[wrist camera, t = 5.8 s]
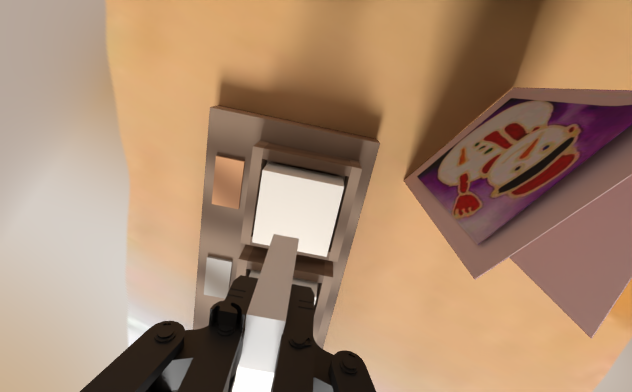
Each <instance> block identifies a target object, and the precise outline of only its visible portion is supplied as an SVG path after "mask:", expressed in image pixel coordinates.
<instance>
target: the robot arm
mask: <svg viewBox="0 0 632 392" xmlns="http://www.w3.org/2000/svg"><path fill="white" fill-rule="evenodd" d="M298 243H299V239H298V238H293V237H287V236H282V235H277V234H273V237H272V240H271V243H270V246H269V249H268V252H267V255H266V258H265V261H264V264H263V267H262V270H261V273H260V276H259V278H253V277H248V276H242V275H240V276H239V277H238V278H236V279H235V280H234V281H233V283H232V285H231V287H230V290H229V291H228V294H227V296H226V298H225V300H223V301H219V302H217V303H216V304H214V305H213V306H212V307H211V308H210V316H209V325H208V326H206V327H204V328H201V329H195V330H185V329H184V327H183V325H181V324H180V323H178V322H174V321H163V322H160V323H157V324H155V325H154V326H152V327H151V328H149V329H148V330H147V331H146V332H145V333H144V334H143V335H142V336H141V337H140V338H138V339H137V340H136V341H135V342H134V343H133V344H132V345H131V346H130V347H128V348H127V349H126V350H125V351H124V352H123V353H122V354H121V355H120V356H119V357H117V358H116V359H115V360H114V361H113V362H112V363H111V364H110V365H109V366H108V367H106V368H105V369H104V370H103V371H102V372H101V373H100V374H99V375H98V376H96V377H95V378H94V379H93V380H92V381H91V382H90V383H89V384H88V385H87V386H86V387H84V388H83V389H82V390H81V391H80V392H232V389H233V386H234V383H235V378H236V372H237V368H238V367H240V368H245V369H251V370H257V371H263V372H269V373H274V377H273V382H272V387H271V391H270V392H376V390H375V388H374V385H373V383H372V380H371V378H370V375H369V373H368V370H367V368H366V365H365V363H364V362H363V360H362V359H361V358H360V357H359V356H358V355H357V354H355V353H353V352H351V351H339V352H337V353H336V354H335V355H333V354H331V353H328V352H326V351H325V350H323V349H322V348H320V347H319V346H318V345H317V343H316V342H315V340H314V337H313V324H314V301H315V294H314V292H313V290H312V288H311V287H306V286H301V285H295V284H292V280H293V273H294V267H295V261H296V255H297V249H298ZM238 365H239V366H238Z"/></svg>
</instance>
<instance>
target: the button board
mask: <svg viewBox="0 0 632 392" xmlns="http://www.w3.org/2000/svg"><path fill="white" fill-rule="evenodd" d="M379 145H380V143H379V141H378V140H377V139H374V138H369V137H364V136H359V135H355V134H350V133H345V132H341V131H336V130H331V129H326V128H322V127H317V126H312V125H308V124H303V123H298V122H294V121H289V120H284V119H279V118H275V117H270V116H265V115H261V114H256V113H251V112H246V111H242V110H237V109H232V108H228V107H223V106H214V107H210V114H209V127H208V140H207V153H206V166H205V179H204V192H203V205H202V218H201V232H200V245H199V258H198V271H197V284H196V297H195V310H194V323H193V330H195V329H201V328H204V327H206V326H208V325H209V316H210V308H211V307H212V306H213V305H214V304H216V303H217V302H219V301H223V300H225V298H226V296H227V294H228V291H229V290H230V287H231V285H232V283H233V281H234V280H235V279H236V278H238V277H239V276H240V275H242V276H248V277H249V275H250V273H251V270H256V271H261V270H262V267H263V264H264V261H265V258H266V255H267V252H268V249H269V246H268V245H263V244H258V243H253V242H252V239H253V232H254V225H255V218H256V211H257V205H258V198H259V191H260V184H261V177H262V170H263V169H264V167H265V166H266V165H267V163H268V162H271V163H276V164H281V165H286V166H291V167H296V168H300V169H305V170H310V171H315V172H320V173H325V174H329V175H334V176H339V177H343V182H344V190H343V194H342V198H341V202H340V206H339V210H338V214H337V218H336V222H335V226H334V230H333V234H332V238H331V242H330V246H329V250H328V254H327V257H324V256H319V255H314V254H309V253H304V252H299V251H297V255H296V261H295V267H294V273H293V278H298V279H303V280H308V281H313V282H317V297H316V301H315V305H314V324H313V337H314V340H315V342H316V343H317V345H318V346H319V347H320V348H322V349H323V346H324V342H325V338H326V335H327V331H328V328H329V324H330V321H331V317H332V313H333V310H334V306H335V303H336V299H337V296H338V292H339V288H340V285H341V281H342V278H343V274H344V271H345V267H346V263H347V260H348V256H349V253H350V249H351V245H352V242H353V238H354V235H355V231H356V228H357V224H358V220H359V217H360V213H361V210H362V206H363V203H364V199H365V195H366V192H367V188H368V185H369V181H370V178H371V174H372V170H373V167H374V163H375V160H376V156H377V153H378V149H379ZM232 390H233V389H232Z"/></svg>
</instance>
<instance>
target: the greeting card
mask: <svg viewBox="0 0 632 392" xmlns="http://www.w3.org/2000/svg"><path fill="white" fill-rule="evenodd" d="M404 182H405V183H406V185H407V186H408V187H409V189H410V190H411V192H412V193H413V194H414V196H415V197H416V199H417V200H418V201H419V203H420V204H421V206H422V207H423V208H424V210H425V211H426V212H427V214H428V215H429V217H430V218H431V219H432V221H433V222H434V224H435V225H436V226H437V228H438V229H439V231H440V232H441V233H442V235H443V236H444V237H445V239H446V240H447V242H448V243H449V244H450V246H451V247H452V249H453V250H454V251H455V253H456V254H457V256H458V257H459V258H460V260H461V261H462V263H463V264H464V265H465V267H466V268H467V269H468V271H469V272H470V274H471V275H472V276H473V278H474V279H475V280H476V279H477V278H479V277H480V276H481V275H483V274H484V273H486V272H487V271H489V270H490V269H492V268H493V267H495V266H496V265H498V264H499V263H501V262H502V261H504V260H505V259H507V258H508V257H509V258H510V259H511V260H512V261H513V262H514V263H516V264H517V265H518V266H519V267H520V268H521V269H522V270H523V271H524V272H525V273H526V274H527V275H528V276H529V277H530V278H531V279H532V280H533V281H534V282H535V283H536V284H537V285H538V286H539V287H540V288H541V289H542V290H543V291H544V292H545V293H546V294H547V295H548V296H549V297H550V298H551V299H552V300H553V301H554V302H555V303H556V304H557V305H558V306H559V307H560V308H561V309H562V310H563V311H564V312H565V313H566V314H567V315H568V316H569V317H570V318H571V319H572V320H573V321H574V322H575V323H576V324H577V325H578V326H579V327H580V328H581V329H582V330H583V331H584V332H585V333H586V334H587V335H588V336H589V337H590V338H593V336H594V334H595V333H596V331H597V330H598V328H599V327H600V325H601V324H602V322H603V321H604V319H605V318H606V316H607V315H608V313H609V312H610V310H611V309H612V307H613V306H614V304H615V303H616V301H617V300H618V298H619V297H620V295H621V294H622V292H623V291H624V289H625V288H626V286H627V284H628V283H629V281H630V280H631V278H632V91H630V90H590V89H550V88H513V89H512V90H510V91H509V92H508V93H507V94H506V95H504V96H503V97H502V98H501V99H500V100H499V101H497V102H496V103H495V104H494V105H493V106H491V107H490V108H489V109H488V110H487V111H485V112H484V113H483V114H482V115H481V116H480V117H478V118H477V119H476V120H475V121H474V122H472V123H471V124H470V125H469V126H468V127H466V128H465V129H464V130H463V131H462V132H461V133H459V134H458V135H457V136H456V137H455V138H453V139H452V140H451V141H450V142H449V143H447V144H446V145H445V146H444V147H443V148H442V149H440V150H439V151H438V152H437V153H436V154H434V155H433V156H432V157H431V158H430V159H428V160H427V161H426V162H425V163H424V164H423V165H421V166H420V167H419V168H418V169H417V170H415V171H414V172H413V173H412V174H411V175H410V176H408V177H407V178H406V179H405V180H404Z"/></svg>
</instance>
